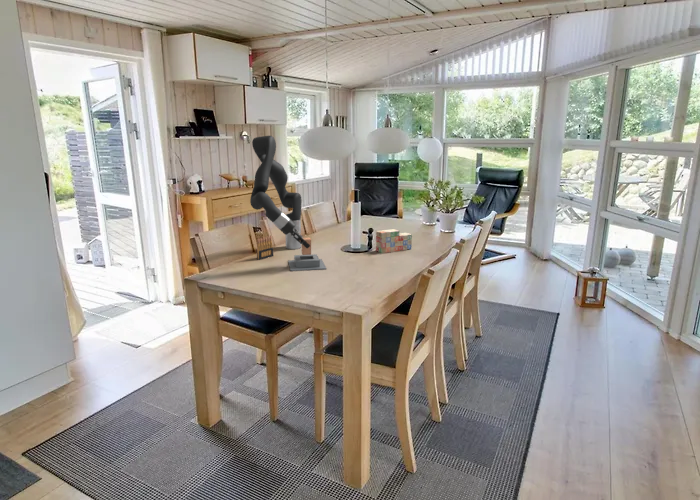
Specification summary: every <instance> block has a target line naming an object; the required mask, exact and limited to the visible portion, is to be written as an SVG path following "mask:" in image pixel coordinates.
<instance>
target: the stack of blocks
mask: <svg viewBox="0 0 700 500" xmlns="http://www.w3.org/2000/svg"><path fill="white" fill-rule="evenodd" d="M375 233H376V234H375V235H376V236H375V245H376V246H375V251H376V252H377V251H378V253H380V254H385V253H394V252H400V250H402V251H408V250H407V249H409V250H412V246H413V245H412V241H413V239H412V237H413V236H412V234H411V233H408V232H400V230H398V229H394V228H392V229H383V230H382V229H381V230H376V231H375Z"/></svg>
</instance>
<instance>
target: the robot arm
mask: <svg viewBox="0 0 700 500" xmlns="http://www.w3.org/2000/svg"><path fill="white" fill-rule="evenodd" d="M251 145H252V149H253V151H254V153H255V155H256V157H258V160H259V161H260V162H261V163H260V164H259V167H258V168H257V170H256V172H255V175H254V182H253V183H254V184H253V189H252V192H251V195H250V200H249V201H250V206H251V207H252V209H254V210H256V211H257V210H261V209H264V211H265V214H264V215H265V216H266V219H268V220H269V221H271V222H272V223H273V225H275V227H276V228H277V229H278V230H280V231H281V232H282V233H283V234H284V235H285V249H288V250H298V249H302V244H303V245H304V246H305V247H306V248H309V247H310V245H309V244H308V243H307V242H306V241H305V240H304V239H303V238H305V237H304V236H303V235H302V228H301V227H302V226H301V225H302V224H301V223H302V221H301V219H302V218H301V216H302V201H303V200H302V196H301V195H302V194H301V193H298V192H289V191H288V190H287V189H286V186H287V183H288V178H289V177H288V174H287V171H286V170H285V167H284V166H283V165H282V164H281V163H280V162H278V161H277V160H276V159H274V158H275V154H276V152H277V151H276V150H277V142H276V139H275V138H274V136H272V135H263V136H257V137H254V138H252V141H251ZM270 181H271V183H272V184H273V186H274V188H275V190H276V191H277V195H278V197H279V199H280V202H281V205H282V206H283V207H285V208H286V209H292V210H291V212H289V213H286V214H285V213H284V212H283V211H281V210H280V208H278V207H277V206H276V203H275V202H274V201H273V199H272V198H271V196H269V194H267V190H268V188H269V183H270ZM301 239H302V240H301Z"/></svg>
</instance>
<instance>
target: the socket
mask: <svg viewBox="0 0 700 500" xmlns="http://www.w3.org/2000/svg"><path fill="white" fill-rule="evenodd" d="M287 262H288V265H289V269H290V272H297V271H299V272H300V271H303V272H304V271H317V270H318V271H319V270H322V271H323V270H327V266H326V265H325V263H324V261H323V258H319V255H318V254H316V253H313V254H311V255H302V254H297V255H296V254H295V255H293V259H292V260H288V261H287Z"/></svg>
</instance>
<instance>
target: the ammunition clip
mask: <svg viewBox="0 0 700 500" xmlns="http://www.w3.org/2000/svg"><path fill="white" fill-rule="evenodd" d="M256 246H257V248H256V259H257V260H258V261H261V260H264V259H268V257H269V258H272V257H274V247H273V239H272V235H267V236H266V235H265V236H263V237H260V238H259V237H258V238H257V245H256Z"/></svg>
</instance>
